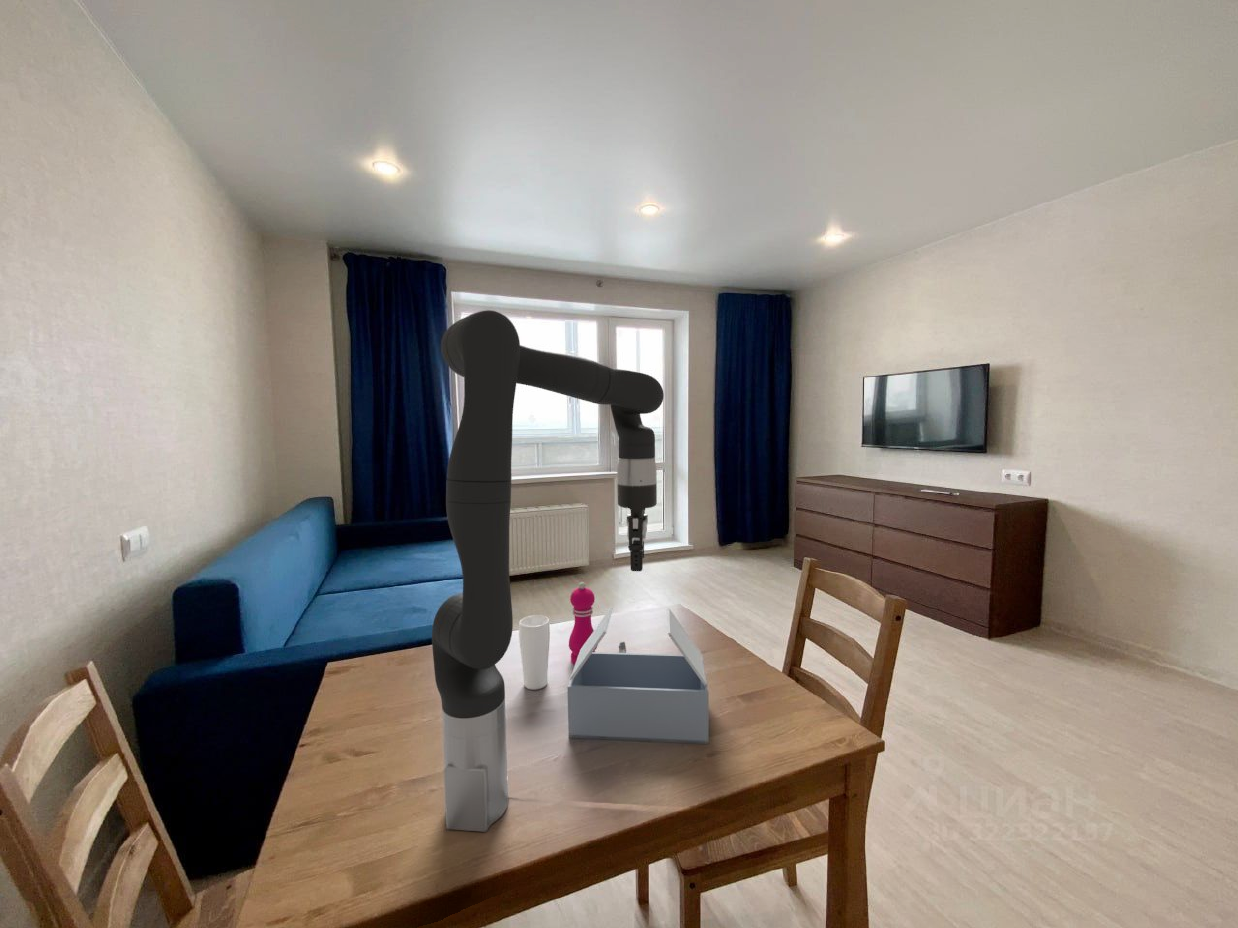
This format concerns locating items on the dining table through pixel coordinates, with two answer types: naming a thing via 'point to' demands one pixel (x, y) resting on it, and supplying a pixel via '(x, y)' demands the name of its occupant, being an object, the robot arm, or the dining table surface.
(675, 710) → the carton
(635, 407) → the robot arm
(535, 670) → the drinking glass
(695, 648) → the flap right
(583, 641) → the pepper mill
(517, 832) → the dining table surface
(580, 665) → the flap left
